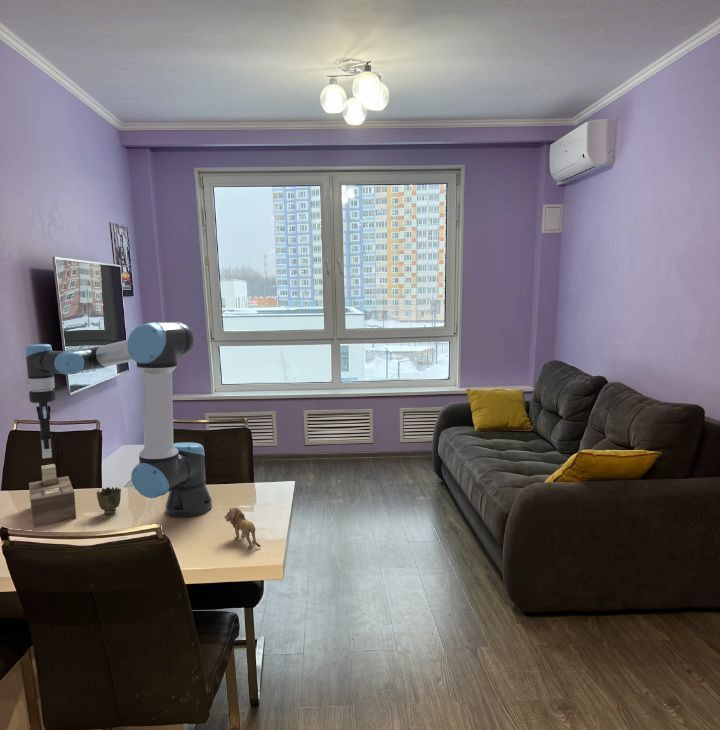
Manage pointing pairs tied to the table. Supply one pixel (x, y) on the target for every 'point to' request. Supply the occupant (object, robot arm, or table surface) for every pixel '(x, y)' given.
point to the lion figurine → (241, 525)
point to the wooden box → (52, 502)
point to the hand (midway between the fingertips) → (47, 457)
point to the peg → (49, 474)
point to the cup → (109, 499)
